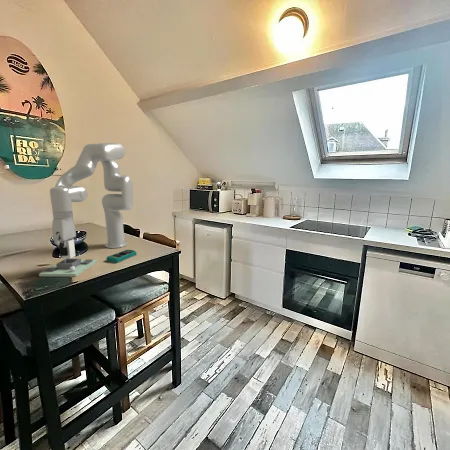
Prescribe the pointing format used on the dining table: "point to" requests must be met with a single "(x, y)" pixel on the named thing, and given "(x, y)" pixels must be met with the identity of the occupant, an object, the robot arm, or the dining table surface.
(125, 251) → the digital multimeter
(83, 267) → the board
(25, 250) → the dining table surface
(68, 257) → the plug
